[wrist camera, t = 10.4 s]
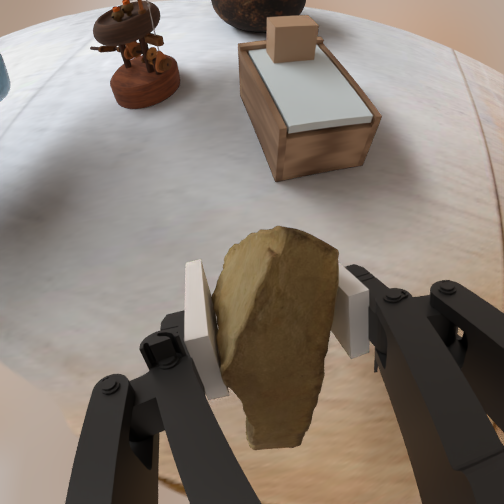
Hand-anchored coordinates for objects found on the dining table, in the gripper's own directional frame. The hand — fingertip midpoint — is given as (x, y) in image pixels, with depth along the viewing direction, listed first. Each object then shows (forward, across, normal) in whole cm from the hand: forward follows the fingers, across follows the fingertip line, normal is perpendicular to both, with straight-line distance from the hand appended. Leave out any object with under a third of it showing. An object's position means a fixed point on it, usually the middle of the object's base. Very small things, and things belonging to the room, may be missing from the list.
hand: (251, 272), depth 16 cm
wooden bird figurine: (+37, -7, +17) cm, 42 cm away
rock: (0, 0, -5) cm, 5 cm away
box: (+26, +12, +6) cm, 29 cm away
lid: (+20, +12, +11) cm, 26 cm away
